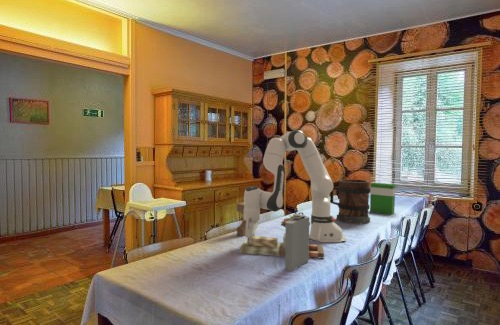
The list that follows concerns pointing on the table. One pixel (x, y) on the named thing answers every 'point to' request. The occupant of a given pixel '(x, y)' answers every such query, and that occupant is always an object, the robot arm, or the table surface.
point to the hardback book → (382, 198)
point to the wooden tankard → (352, 201)
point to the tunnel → (284, 240)
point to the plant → (290, 218)
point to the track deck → (278, 250)
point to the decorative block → (242, 227)
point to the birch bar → (263, 241)
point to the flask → (297, 242)
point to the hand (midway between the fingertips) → (251, 241)
